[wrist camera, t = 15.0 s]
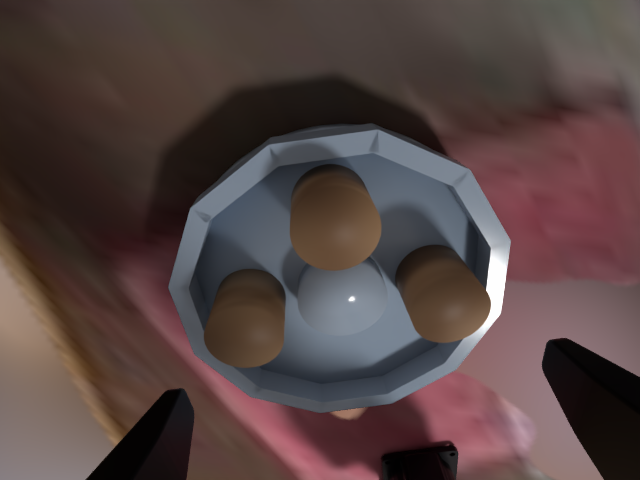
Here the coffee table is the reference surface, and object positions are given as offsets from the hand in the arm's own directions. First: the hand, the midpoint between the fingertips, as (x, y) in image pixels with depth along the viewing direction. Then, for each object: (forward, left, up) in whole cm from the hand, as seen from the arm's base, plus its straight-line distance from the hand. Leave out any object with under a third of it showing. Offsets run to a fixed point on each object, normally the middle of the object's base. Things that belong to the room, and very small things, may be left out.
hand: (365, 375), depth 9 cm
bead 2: (0, 0, -11) cm, 11 cm away
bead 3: (-5, -5, -11) cm, 14 cm away
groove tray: (-5, 0, -12) cm, 14 cm away
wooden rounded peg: (-5, +5, -11) cm, 14 cm away
